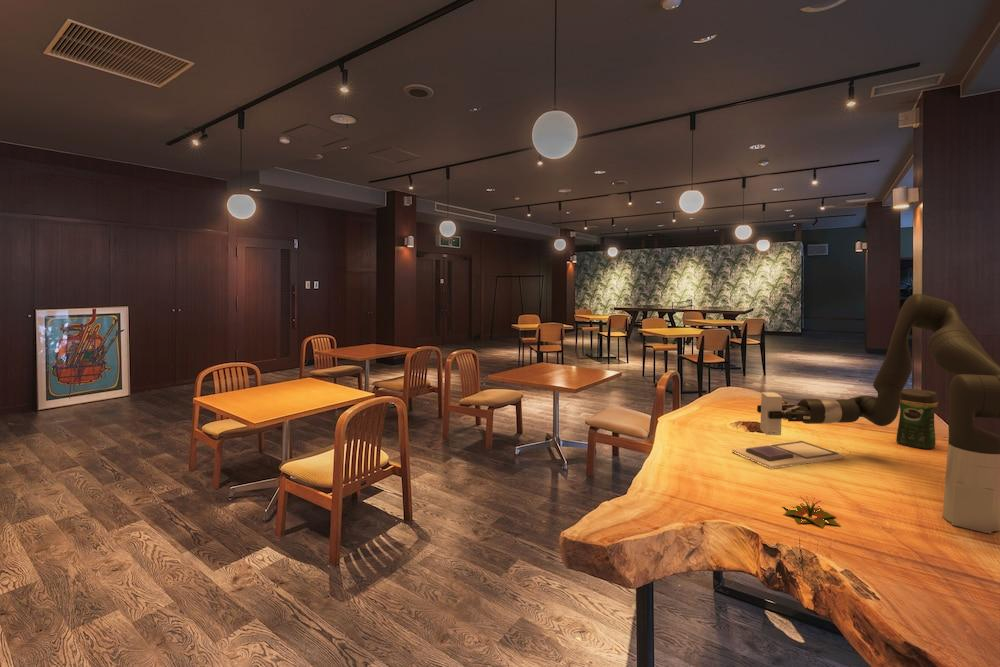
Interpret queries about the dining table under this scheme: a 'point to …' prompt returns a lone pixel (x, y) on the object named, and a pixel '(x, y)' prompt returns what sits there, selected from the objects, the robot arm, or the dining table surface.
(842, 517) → the dining table surface
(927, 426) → the coffee jar
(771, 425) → the skincare box
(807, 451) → the board
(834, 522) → the green leafy piece
